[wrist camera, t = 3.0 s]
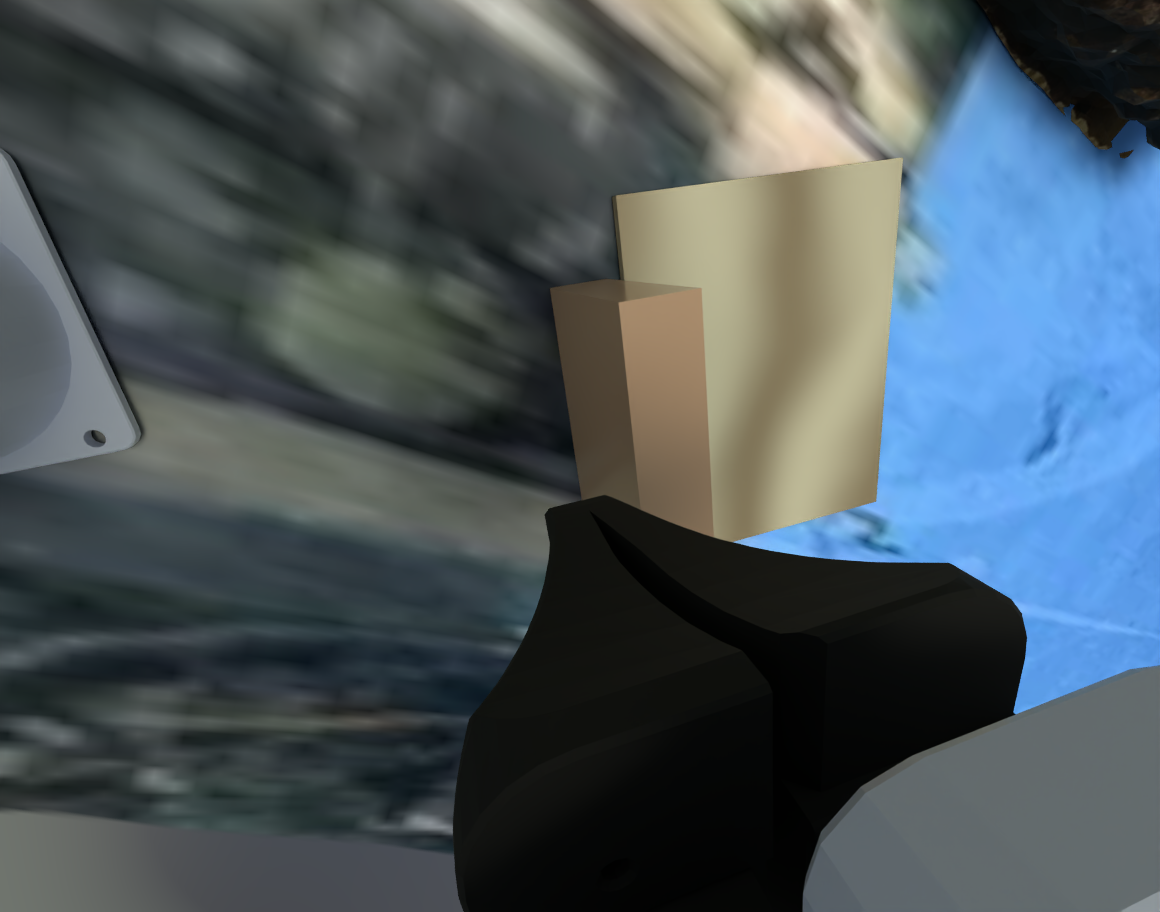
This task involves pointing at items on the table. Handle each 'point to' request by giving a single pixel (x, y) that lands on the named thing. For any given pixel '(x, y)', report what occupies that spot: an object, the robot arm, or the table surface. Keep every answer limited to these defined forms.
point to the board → (781, 329)
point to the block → (638, 395)
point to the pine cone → (1089, 59)
